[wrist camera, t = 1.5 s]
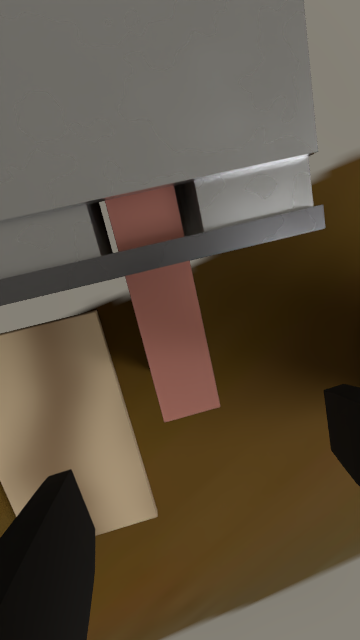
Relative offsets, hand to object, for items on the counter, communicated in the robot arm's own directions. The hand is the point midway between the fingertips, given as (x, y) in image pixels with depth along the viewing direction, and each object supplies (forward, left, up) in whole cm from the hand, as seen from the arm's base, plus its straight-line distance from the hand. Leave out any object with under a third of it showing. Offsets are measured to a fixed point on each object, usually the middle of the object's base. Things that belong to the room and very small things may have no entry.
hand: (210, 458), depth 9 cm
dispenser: (0, -9, -10) cm, 13 cm away
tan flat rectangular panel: (+7, +4, -10) cm, 13 cm away
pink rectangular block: (0, -4, -10) cm, 11 cm away
